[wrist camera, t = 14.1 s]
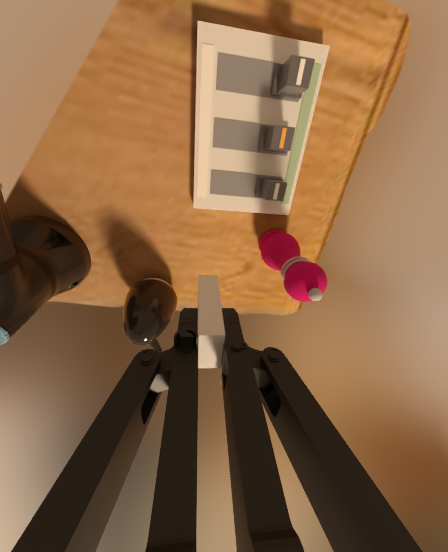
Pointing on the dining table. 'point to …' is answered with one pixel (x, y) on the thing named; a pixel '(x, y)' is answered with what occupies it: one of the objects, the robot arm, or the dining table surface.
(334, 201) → the dining table surface
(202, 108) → the panel
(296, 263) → the pepper mill
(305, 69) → the breaker
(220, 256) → the dining table surface
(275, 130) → the breaker
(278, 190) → the breaker
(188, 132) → the dining table surface
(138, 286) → the black glossy egg shape
